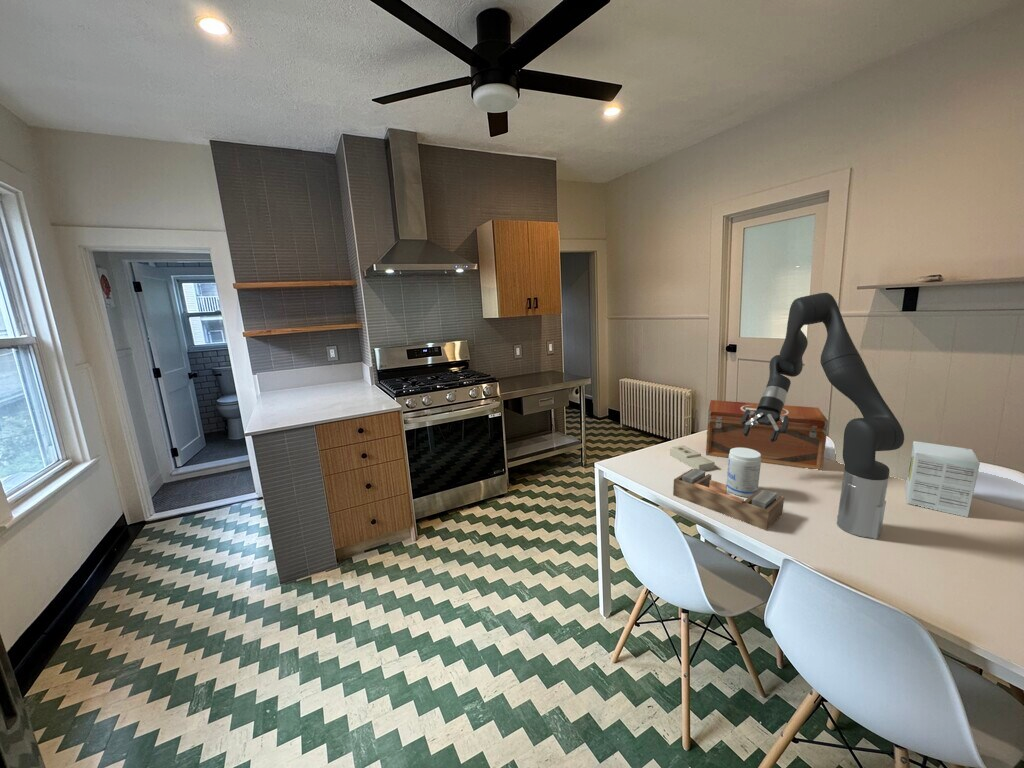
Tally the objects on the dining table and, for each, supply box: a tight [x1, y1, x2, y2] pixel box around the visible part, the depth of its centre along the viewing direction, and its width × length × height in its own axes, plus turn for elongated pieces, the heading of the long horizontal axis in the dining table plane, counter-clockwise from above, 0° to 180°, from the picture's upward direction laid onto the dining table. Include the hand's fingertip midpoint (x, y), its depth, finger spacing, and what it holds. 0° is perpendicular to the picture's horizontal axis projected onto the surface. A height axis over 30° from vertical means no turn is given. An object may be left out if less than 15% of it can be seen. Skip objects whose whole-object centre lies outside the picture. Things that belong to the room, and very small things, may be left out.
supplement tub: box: [725, 448, 762, 498], centre depth 134 cm, size 10×10×15 cm
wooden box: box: [705, 399, 829, 471], centre depth 164 cm, size 20×41×20 cm, turn 61°
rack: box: [672, 468, 785, 531], centre depth 127 cm, size 29×13×10 cm, turn 38°
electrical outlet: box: [669, 445, 715, 472], centre depth 161 cm, size 7×4×18 cm
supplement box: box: [905, 440, 981, 518], centre depth 121 cm, size 13×13×18 cm
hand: (758, 438), depth 140 cm, fingers open, 8 cm apart
